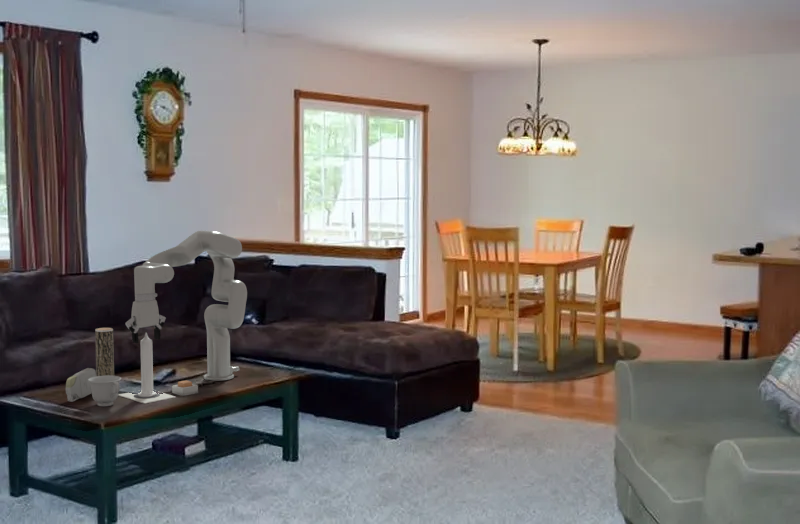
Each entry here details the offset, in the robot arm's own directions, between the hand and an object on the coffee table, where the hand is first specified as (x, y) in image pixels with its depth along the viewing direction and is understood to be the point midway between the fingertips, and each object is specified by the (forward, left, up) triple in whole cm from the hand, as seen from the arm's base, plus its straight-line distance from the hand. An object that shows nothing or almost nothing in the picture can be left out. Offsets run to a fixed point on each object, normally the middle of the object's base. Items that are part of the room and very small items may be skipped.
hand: (146, 341), depth 382 cm
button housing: (-14, +6, -22) cm, 26 cm away
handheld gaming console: (+19, -16, -22) cm, 33 cm away
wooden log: (+6, -20, -22) cm, 31 cm away
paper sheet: (0, 0, -22) cm, 22 cm away
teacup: (+18, +2, -22) cm, 29 cm away
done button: (-14, +6, -20) cm, 24 cm away
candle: (0, 0, -22) cm, 22 cm away
